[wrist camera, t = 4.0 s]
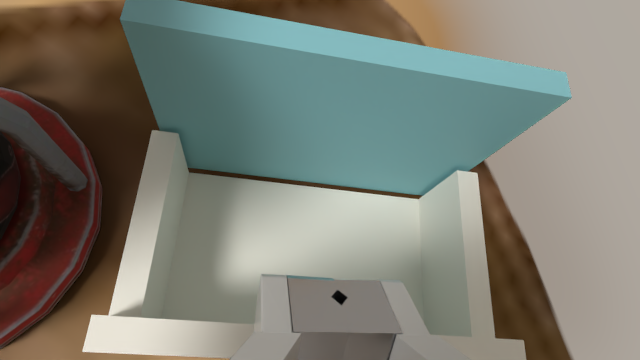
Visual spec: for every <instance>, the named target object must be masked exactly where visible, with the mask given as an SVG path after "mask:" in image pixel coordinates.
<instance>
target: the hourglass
mask: <svg viewBox="0 0 640 360" xmlns="http://www.w3.org/2000/svg"><path fill="white" fill-rule="evenodd" d="M101 205H102V185H101V182H100V179H99V176H98V173H97V170H96V167H95V164H94V161H93V158H92V155H91V153H90V151H89V150H88V149H87V147H86V146H85V145H84V144H83V142H82V141H81V140H80V139H79V138H78V136H77V135H76V134H75V133H74V132H73V131H72V129H71V128H70V127H69V126H68V125H67V123H66V122H65V121H64V120H63V119H62V118H61V116H60V115H59V114H58V113H57V112H55V111H53V110H51V109H50V108H48V107H46V106H45V105H43V104H41V103H39V102H38V101H36V100H34V99H33V98H31V97H29V96H27V95H26V94H24V93H22V92H19V91H15V90H11V89H6V88H2V87H0V349H1V348H3V347H4V346H5V345H7V344H8V343H9V342H11V341H12V340H13V339H15V338H16V337H17V336H19V335H20V334H21V333H23V332H24V331H25V330H27V329H28V328H29V327H31V326H32V325H33V324H35V323H36V322H37V321H39V320H40V319H42V318H43V317H44V316H46V315H47V314H48V313H50V311H51V310H52V309H53V308H54V306H55V305H56V304H57V303H58V301H59V300H60V299H61V298H62V296H63V295H64V294H65V293H66V291H67V290H68V289H69V288H70V286H71V285H72V284H73V283H74V281H75V280H76V279H77V278H78V276H79V275H80V274H81V273H82V271H83V269H84V267H85V265H86V262H87V260H88V257H89V255H90V252H91V250H92V247H93V245H94V243H95V240H96V238H97V235H98V233H99V230H100V224H101Z"/></svg>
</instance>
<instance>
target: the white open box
mask: <svg viewBox="0 0 640 360" xmlns="http://www.w3.org/2000/svg"><path fill="white" fill-rule="evenodd" d="M261 274H274V275H285V276H286V275H293V276H308V277H323V278H333V279H357V280H377V279H380V280H400V281H401V282H403V284H404V286H405V288H406V290H407V292H408V293H409V295H410V297H411V299H412V301H413V303H414V305H415V307H416V309H417V310H418V312H419V314H420V316H421V318H422V320H423V322H424V324H425V326H426V327H427V329H428V331H429V333H430V335H438V336H439V337H441V338H442V339H443V340H445V341H446V342H448V343H449V344H450V345H452V346H453V347H454V348H456V349H457V350H459V351H460V352H461V353H463V354H464V355H465V356H467V357H468V358H470V359H471V360H526V353H525V346H524V340H514V339H497V338H495V331H494V322H493V312H492V303H491V294H490V285H489V275H488V266H487V257H486V248H485V239H484V229H483V220H482V211H481V202H480V192H479V183H478V174H477V173H474V172H466V171H459V170H457V171H456V172H454V173H453V174H452V175H450V176H449V177H448V178H446V179H445V180H444V181H442V182H441V183H440V184H438V185H437V186H436V187H434V188H433V189H432V190H430V191H429V192H428V193H426V194H425V195H424V196H422V197H421V198H420V199H411V198H403V197H394V196H386V195H377V194H369V193H360V192H352V191H343V190H335V189H326V188H318V187H309V186H301V185H292V184H283V183H275V182H266V181H258V180H249V179H241V178H232V177H224V176H215V175H207V174H198V173H190V172H189V171H188V167H187V163H186V160H185V156H184V152H183V149H182V145H181V141H180V138H179V134H178V133H172V132H164V131H157V130H152V133H151V137H150V141H149V146H148V150H147V154H146V158H145V163H144V167H143V171H142V175H141V180H140V184H139V188H138V192H137V197H136V201H135V205H134V209H133V214H132V218H131V222H130V226H129V231H128V235H127V239H126V243H125V248H124V252H123V256H122V260H121V265H120V269H119V273H118V277H117V282H116V286H115V290H114V294H113V299H112V303H111V307H110V311H109V316H105V315H92V316H91V320H90V324H89V328H88V332H87V336H86V340H85V343H84V347H83V351H82V352H99V353H121V354H144V355H167V356H189V357H212V358H231V357H232V356H233V355H234V354H235V353H236V352H237V350H238V349H239V348H240V347H241V346H242V345H243V344H244V342H245V341H246V340H247V339H248V338H249V337H250V336H251V334H252V333H253V332H254V321H255V312H256V304H257V296H258V288H259V280H260V276H261Z"/></svg>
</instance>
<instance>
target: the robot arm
mask: <svg viewBox="0 0 640 360" xmlns="http://www.w3.org/2000/svg"><path fill="white" fill-rule="evenodd" d="M230 360H471V359H470V358H468V357H467V356H465V355H464V354H463V353H461V352H460V351H459V350H457V349H456V348H454V347H453V346H452V345H450V344H449V343H448V342H446V341H445V340H443V339H442V338H441V337H439V336H438V335H430V333H429V331H428V329H427V327H426V326H425V324H424V322H423V320H422V318H421V316H420V314H419V312H418V310H417V309H416V307H415V305H414V303H413V301H412V299H411V297H410V295H409V293H408V292H407V290H406V288H405V286H404V284H403V282H401V281H400V280H380V279H377V280H357V279H333V278H323V277H308V276H293V275H286V276H285V275H274V274H261V276H260V280H259V288H258V296H257V304H256V312H255V321H254V332H253V333H252V334H251V336H250V337H249V338H248V339H247V340H246V341H245V342H244V344H243V345H242V346H241V347H240V348H239V349H238V350H237V352H236V353H235V354H234V355H233V356H232V357H231V358H230Z"/></svg>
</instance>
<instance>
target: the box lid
mask: <svg viewBox="0 0 640 360" xmlns="http://www.w3.org/2000/svg"><path fill="white" fill-rule="evenodd" d="M120 21H121V24H122V26H123V29H124V32H125V35H126V38H127V40H128V43H129V46H130V49H131V52H132V54H133V57H134V60H135V63H136V65H137V68H138V71H139V74H140V77H141V79H142V82H143V85H144V88H145V91H146V93H147V96H148V99H149V102H150V104H151V107H152V110H153V113H154V116H155V118H156V121H157V124H158V127H159V130H160V131H164V132H172V133H178V134H179V138H180V141H181V145H182V149H183V152H184V156H185V160H186V163H187V167H188V168H196V169H204V170H212V171H221V172H229V173H238V174H246V175H254V176H263V177H271V178H279V179H288V180H296V181H305V182H313V183H321V184H330V185H338V186H346V187H355V188H363V189H372V190H380V191H388V192H397V193H405V194H413V195H422V196H424V195H425V194H426V193H428V192H429V191H430V190H432V189H433V188H434V187H436V186H437V185H438V184H440V183H441V182H442V181H444V180H445V179H446V178H448V177H449V176H450V175H452V174H453V173H454V172H456V171H457V170H459V171H466V172H468V171H469V170H471V169H472V168H474V167H475V166H476V165H478V164H479V163H481V162H482V161H483V160H485V159H486V158H488V157H489V156H490V155H492V154H493V153H495V152H496V151H497V150H499V149H500V148H502V147H503V146H505V145H506V144H507V143H509V142H510V141H512V140H513V139H514V138H516V137H517V136H519V135H520V134H521V133H523V132H524V131H526V130H527V129H528V128H530V127H531V126H533V125H534V124H535V123H537V122H538V121H539V120H541V119H542V118H544V117H545V116H547V115H548V114H550V113H551V112H552V111H554V110H555V109H557V108H558V107H559V106H561V105H562V104H564V103H565V102H566V101H568V100H569V99H571V98H572V97H571V92H570V88H569V84H568V79H567V74H566V72H561V71H555V70H550V69H545V68H540V67H534V66H528V65H523V64H518V63H513V62H507V61H502V60H496V59H491V58H485V57H480V56H475V55H469V54H464V53H458V52H453V51H447V50H442V49H437V48H431V47H426V46H421V45H415V44H410V43H405V42H399V41H394V40H388V39H383V38H377V37H372V36H367V35H361V34H356V33H350V32H345V31H340V30H334V29H329V28H323V27H318V26H313V25H307V24H302V23H296V22H291V21H286V20H280V19H275V18H269V17H264V16H259V15H253V14H248V13H242V12H237V11H232V10H226V9H221V8H215V7H210V6H205V5H199V4H194V3H188V2H183V1H178V0H126V1H125V4H124V8H123V11H122V14H121V17H120Z"/></svg>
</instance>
